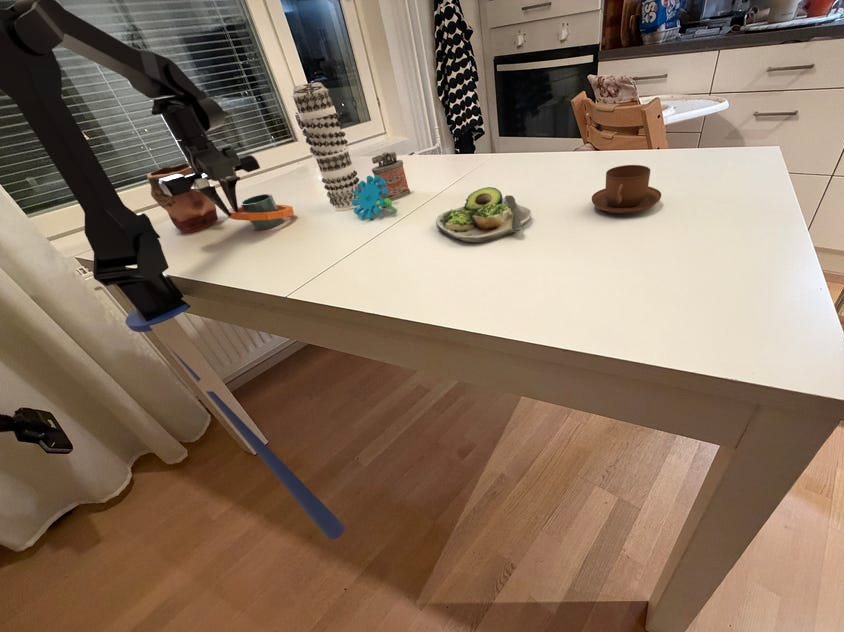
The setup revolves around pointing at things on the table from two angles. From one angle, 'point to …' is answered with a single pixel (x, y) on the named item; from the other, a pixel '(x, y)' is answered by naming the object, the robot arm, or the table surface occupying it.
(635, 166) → the cup and saucer
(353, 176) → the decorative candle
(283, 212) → the ring
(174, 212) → the decorative planter
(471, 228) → the avocado toast plate
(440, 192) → the table surface
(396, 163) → the lighter
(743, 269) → the table surface
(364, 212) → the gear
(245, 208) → the cup
